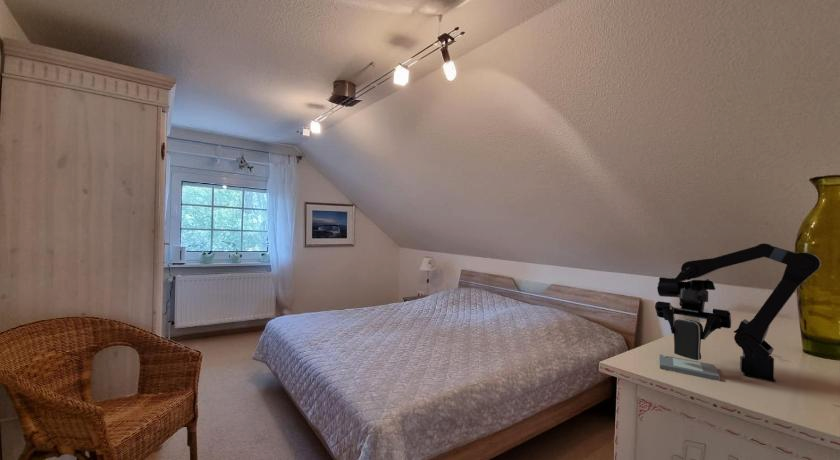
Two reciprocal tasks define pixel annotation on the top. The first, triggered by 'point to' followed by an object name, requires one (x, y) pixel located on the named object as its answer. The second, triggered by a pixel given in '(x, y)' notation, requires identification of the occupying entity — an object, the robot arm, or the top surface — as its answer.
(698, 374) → the charging pad
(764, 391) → the top surface
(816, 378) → the top surface
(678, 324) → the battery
